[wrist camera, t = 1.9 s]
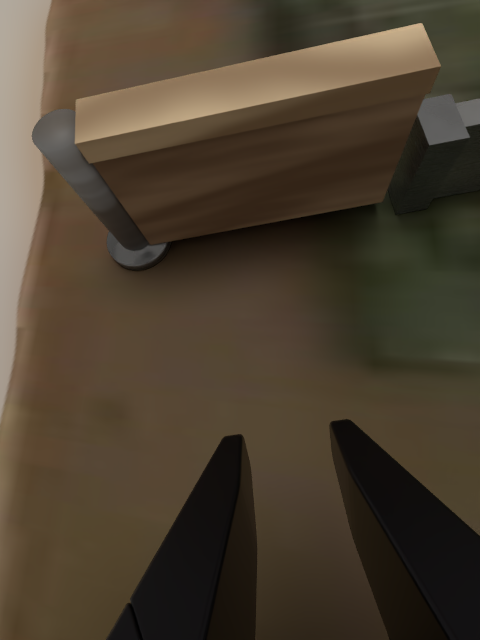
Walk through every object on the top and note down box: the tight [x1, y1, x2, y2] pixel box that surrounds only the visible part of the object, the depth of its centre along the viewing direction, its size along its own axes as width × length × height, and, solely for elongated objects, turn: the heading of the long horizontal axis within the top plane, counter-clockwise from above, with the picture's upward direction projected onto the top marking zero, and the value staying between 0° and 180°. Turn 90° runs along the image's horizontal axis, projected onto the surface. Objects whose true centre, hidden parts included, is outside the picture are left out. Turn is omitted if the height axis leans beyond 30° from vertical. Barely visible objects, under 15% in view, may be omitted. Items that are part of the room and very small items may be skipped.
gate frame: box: [107, 94, 480, 270], centre depth 22 cm, size 4×32×6 cm, turn 97°
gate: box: [32, 23, 441, 251], centre depth 20 cm, size 3×18×9 cm, turn 97°
